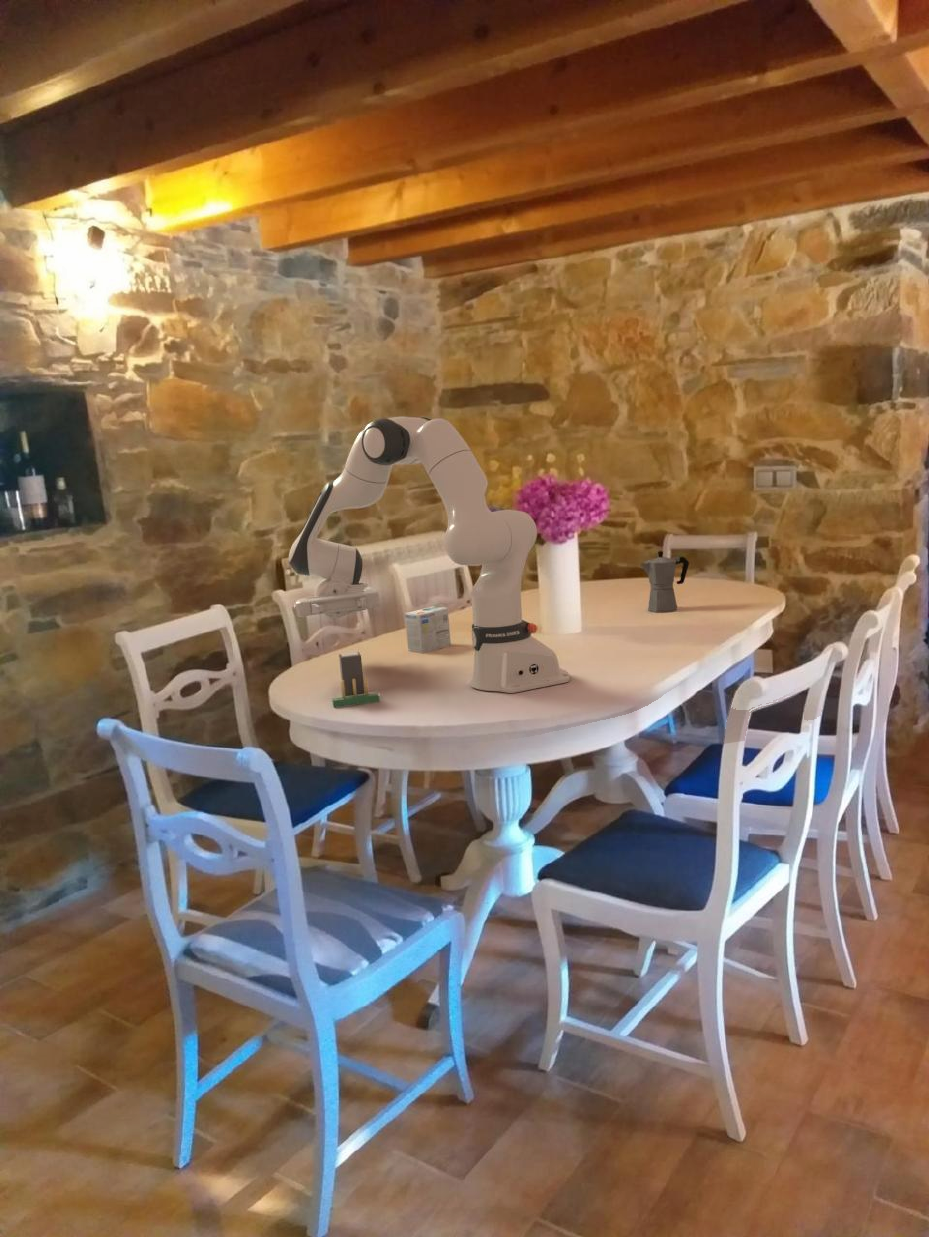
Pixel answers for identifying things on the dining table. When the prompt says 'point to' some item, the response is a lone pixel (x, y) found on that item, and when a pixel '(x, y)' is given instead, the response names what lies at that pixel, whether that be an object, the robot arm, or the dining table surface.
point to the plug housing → (351, 672)
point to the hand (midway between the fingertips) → (340, 607)
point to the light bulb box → (427, 629)
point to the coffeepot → (663, 582)
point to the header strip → (355, 696)
